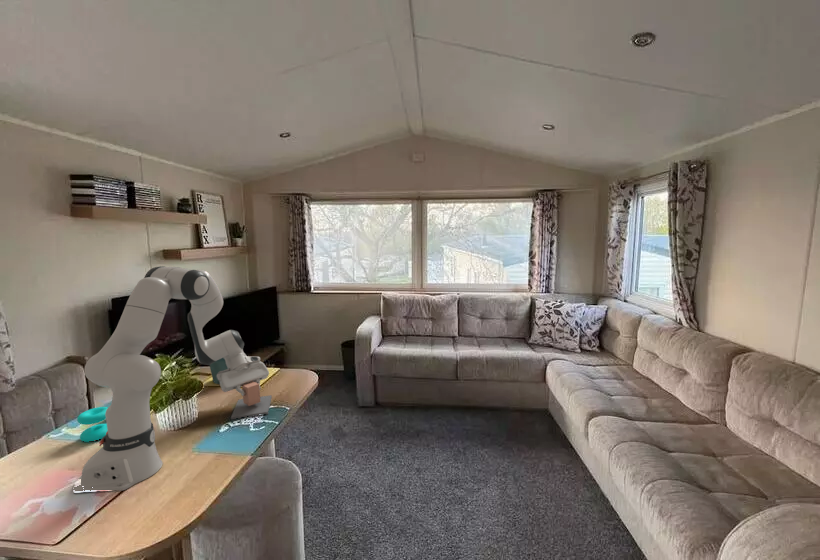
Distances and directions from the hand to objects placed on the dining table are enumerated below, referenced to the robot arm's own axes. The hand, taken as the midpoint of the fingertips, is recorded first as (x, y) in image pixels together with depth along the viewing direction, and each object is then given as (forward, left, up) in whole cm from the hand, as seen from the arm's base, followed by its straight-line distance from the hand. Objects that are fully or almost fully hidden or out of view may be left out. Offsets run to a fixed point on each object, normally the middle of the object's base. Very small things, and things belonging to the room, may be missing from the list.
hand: (251, 392), depth 164 cm
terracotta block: (0, +1, -5) cm, 5 cm away
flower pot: (-18, +40, -7) cm, 44 cm away
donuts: (-54, -6, -7) cm, 55 cm away
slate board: (0, +1, -7) cm, 7 cm away
